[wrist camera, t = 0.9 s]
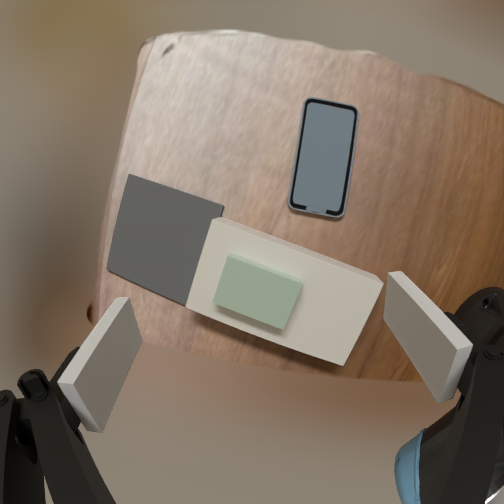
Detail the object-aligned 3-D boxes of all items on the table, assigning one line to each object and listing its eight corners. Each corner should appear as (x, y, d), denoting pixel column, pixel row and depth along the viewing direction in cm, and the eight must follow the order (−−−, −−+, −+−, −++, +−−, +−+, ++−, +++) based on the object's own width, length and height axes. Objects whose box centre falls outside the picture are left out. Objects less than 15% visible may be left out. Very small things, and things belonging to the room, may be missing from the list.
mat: (224, 206, 40) (223, 206, 40) (192, 306, 44) (191, 307, 43) (130, 174, 42) (128, 174, 41) (108, 268, 45) (106, 269, 44)
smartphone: (360, 106, 35) (343, 219, 38) (358, 108, 36) (342, 218, 39) (304, 95, 36) (286, 208, 39) (304, 98, 37) (286, 208, 39)
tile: (302, 279, 36) (302, 284, 34) (284, 323, 38) (283, 329, 36) (231, 252, 37) (227, 255, 35) (216, 297, 38) (212, 302, 37)
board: (376, 275, 39) (383, 283, 35) (340, 351, 41) (343, 365, 38) (220, 216, 41) (212, 219, 37) (195, 297, 43) (185, 307, 39)
